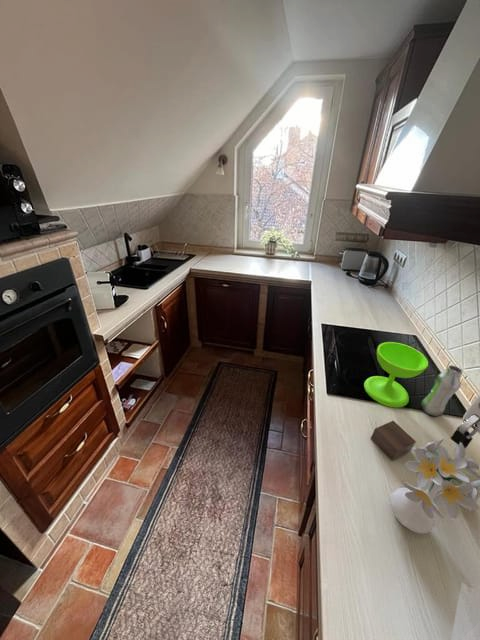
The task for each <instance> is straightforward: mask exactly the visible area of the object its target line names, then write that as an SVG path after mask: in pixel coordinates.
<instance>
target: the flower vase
mask: <svg viewBox="0 0 480 640" xmlns="http://www.w3.org/2000/svg"><path fill="white" fill-rule="evenodd" d="M444 440H445V437H444V438H442V439H439V440H437V442H435V441H434V440H433V441H430V442H427V443H426V444H425V448H424V447H423V446H421V447H419V446H418V447H412V449H411V451H410V452H414V454H415V457H416V459H417V460H418V461H416V460H408V461H407V462H405V468H406V469H408V470H409V471H411V472H414V473H418V475H417V478H416V484H417V487H416V486H414V485H412V484H410V483H408V482H406V481H404V480H401V484H402V485H403V486H404V487H399V488H397V489H395V490H394V491H393V492H392V493H391V495H390V498H389V499H390V506H391V510H392V512H393V514H394V516H395V518H396V519H397V521H398V522H399V523H400V524H401V525H402V526H403V527H405V528H406V529H408V530H409V531H412V532H413V533H416V534H422V535H423V534H424V535H425V534H428V533H431V532H432V531H433V530H434V528H435V526H436V515H438V516H439V517H441V518H442V519H443V518H445V516H444V514H443V513H442V512H441V510H440V508H439V507H438V506H437V505H444V504H446V509H447V513H448V515H449V517H450V518H451V519H456V518H458V516H459V514H460V506H462V507H463V508H465V509H467V510H468V512H469V513H471V511H477V510H478V509H479V505H478V503H477V502H478V501H479V497H480V494H479V491H478V490H479V489H480V475H479V474H478V472H477V471H475V470H480V466H479V464H478V463H477V462H476V461H475V460H473V459H472V458H470V457H466V455H467V451H466V448H464V446H463V444H462V443H461V442H460V443H459V445H458V444H457V443H454V447H455V458H451V460H450V461H449V457H450V455H449V453H448V451H447V450H446V448H445V447H444V446H442V443H443V441H444ZM437 451H438V456H436V455H435V453H436V452H437ZM428 457H429V458H430V460H428ZM448 461H449V462H448ZM462 469H465V470H466V471H467V472H469V473H470V474H472V475H473V476H474V477H476V479H477V480H473V481H470V478H469V477H468V476H467V475H466V474H465V473H464V472H462V471H460V470H462ZM453 481H455V482H457V483H458V484H460V485H454V484H453ZM441 490H442V491H441ZM440 491H441V492H440ZM459 505H460V506H459Z"/></svg>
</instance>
